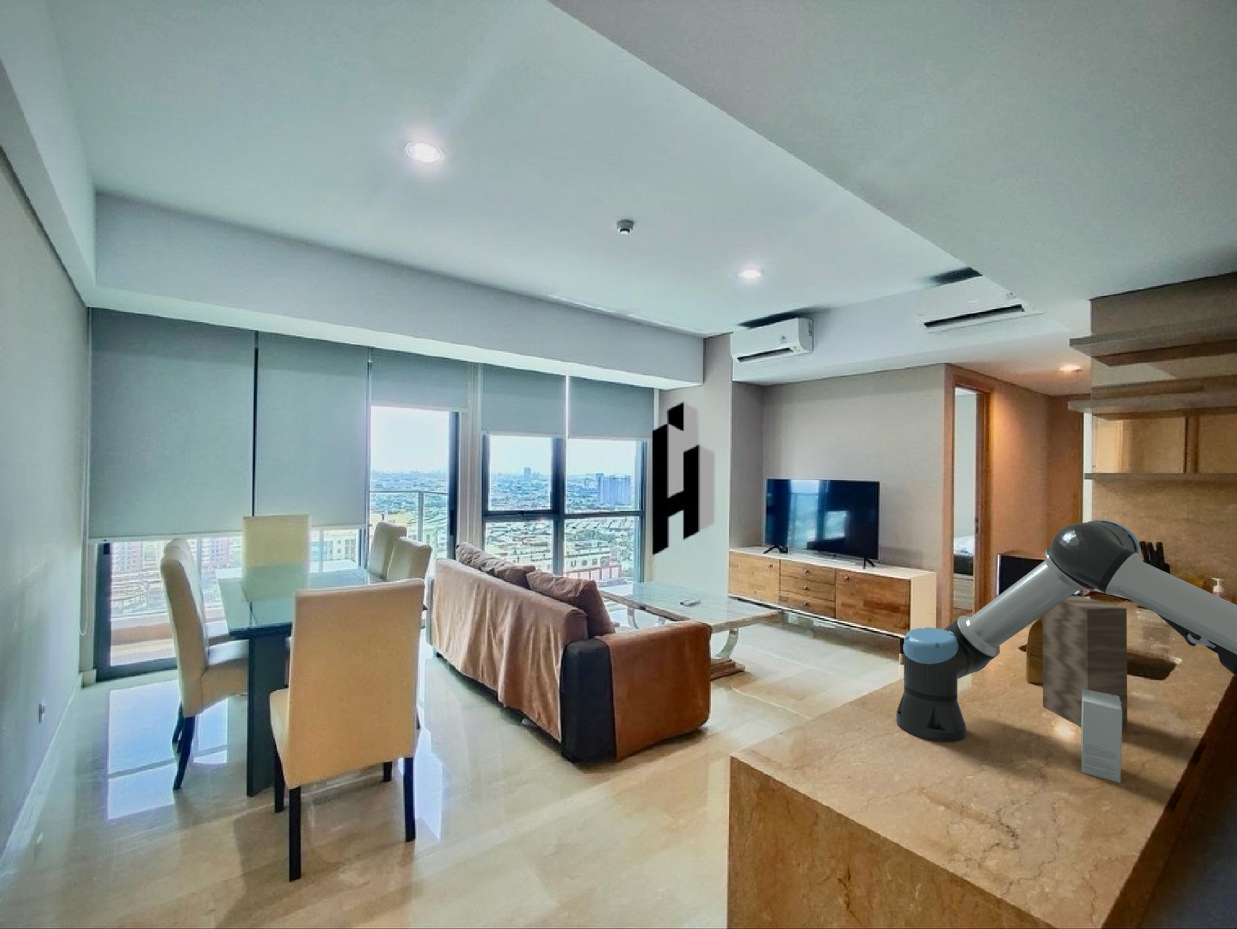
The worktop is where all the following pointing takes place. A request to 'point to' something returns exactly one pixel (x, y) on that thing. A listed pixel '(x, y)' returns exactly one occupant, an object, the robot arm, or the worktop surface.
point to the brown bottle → (1035, 653)
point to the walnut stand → (1083, 655)
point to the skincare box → (1101, 735)
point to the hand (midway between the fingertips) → (1153, 584)
